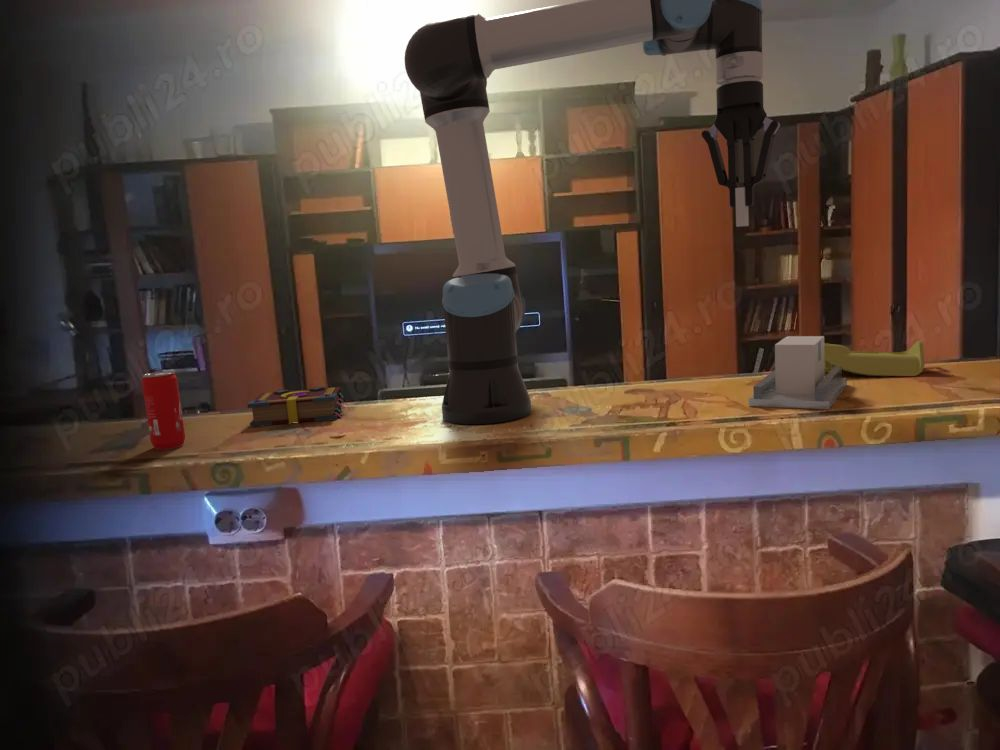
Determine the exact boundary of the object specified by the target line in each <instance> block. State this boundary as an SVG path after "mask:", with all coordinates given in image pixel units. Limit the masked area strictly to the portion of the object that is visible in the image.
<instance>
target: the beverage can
mask: <svg viewBox="0 0 1000 750" xmlns="http://www.w3.org/2000/svg"><path fill="white" fill-rule="evenodd" d="M141 386H142V391H143V398H144V405H145V412H146V418H147V425H148V426H147V427H148V431H149V437H150V444H152V447H154V450H155V451H167V450H173V449H178V448H181V447H183V446H184V445H185V443H184V442H185V440H186V433H185V432H186V430H185V425H184V418H183V411H182V404H181V397H180V389H179V383H178V377H177V375H176V374H175V371H173V370H165V371H156V372H150V373H144V374H143V375H142V380H141Z"/></svg>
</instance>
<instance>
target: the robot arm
mask: <svg viewBox="0 0 1000 750" xmlns="http://www.w3.org/2000/svg"><path fill="white" fill-rule="evenodd" d="M638 43H642V50H643V53H644V54H645V55H647V56H662V57H663V56H664V57H666V56H667V55H674V54H675V55H677V54H682V53H683V54H684V53H689V52H690V53H693V52H699V51H701V52H702V51H710V50H714V53H715V82H716V85H718V87H717V88H716V90H715V91H716V93H715V94H716V116H715V119H714V121H713V122H714V123H713V125H712V126H710V128H708V129H707V130H703V131H701V137H702V138H703V140H704V141H705V143H706V144H707V147H708V151H709V154H710V158H711V162H712V165H713V169H714V173H715V177H716V180H717V183H718V184H719V185H720V186H722V187H723V186H724V187H726V188H728V190H729V206H730V207H731V208H735V226H736V228H738V227H749V226H750V225H749V224H750V223H749V222H750V221H749V220H750V218H749V217H750V216H749V207H752V206H754V204H755V186H756V185H757V184H760V183H762V182H765V180H766V177H767V173H768V168H769V164H770V158H771V154H772V149H773V145H774V141H775V136H776V135H777V133H778V132H779V130H780V129H781V123H780V122H778V121H776V120H772V119H771V118H768V115H767V113H766V111H765V108H764V83H762V81H761V80H762V79H763V78H764V68H763V66H764V65H763V64H764V63H763V62H764V61H763V60H764V59H763V58H764V57H763V7H762V0H576V1H572V2H566V3H561V4H556V5H550V6H546V7H539V8H534V9H530V10H524V11H518V12H514V13H509V14H504V15H503V14H502V15H497V16H492V17H486V18H485V17H484V16H483V15H481V14H480V13H478V12H476V13H475V12H474V13H470V14H469V13H468V14H465V15H460V16H454V17H448V18H444V19H438V20H436V21H431V22H430V23H427V24H424V25H423V26H422V27H420V28H418V29H417V30H416V31H415V32H414V33H413V35H411V37H410V39H409V41H408V42H407V45H406V47H405V50H404V51H405V52H404V68H405V71H406V75H407V77H408V78H409V81H410V82H411V84H412V86H414V87H415V89H416V90H417V91H418V92H419V95H420V100H421V106H422V107H421V108H422V111H423V119H424V122H425V124H426V125H428V126H429V127H430V128H432V129H433V130H434V132H435V135H436V142H437V146H438V147H437V149H438V152H439V158H440V163H441V169H442V174H443V181H444V186H445V193H446V199H447V202H448V203H447V204H448V209H449V214H450V219H451V220H450V221H451V226H452V231H453V237H454V243H455V249H456V255H457V259H458V266H457V268H456V269H455V271H454V272H453V274H452V279H449V280H448V281H446V282H445V283H444V285H443V287H442V299H441V304H442V307H443V315H444V326H445V328H444V329H445V337H446V349H447V350H446V351H447V361H448V376H447V377H448V378H447V381H446V384H445V385H446V386H445V390H444V394H443V399H442V404H441V413H442V416H441V417H442V419H443V420H444V421H445V422H448V423H451V424H458V425H459V424H461V425H487V424H498V423H504V422H511V421H514V420H518V419H523V418H524V417H526V416H527V417H528V416H529V415H530V414H531V413H532V400H531V399H532V398H531V397H530V394H529V392H528V389H527V386H526V384H525V382H524V379H523V377H522V374H521V371H520V369H519V361H518V349H517V348H518V346H517V332H518V331H519V329H520V328H521V327H522V325H523V322H524V320H525V316H526V315H525V314H526V300H525V298H524V296H523V292H522V291H521V289H520V285H519V280H518V279H519V278H518V273H517V266H516V264H515V263H514V262H513V261H511V260H510V259H508V257H507V256H506V252H505V246H504V240H503V234H502V233H503V232H502V228H501V227H502V226H501V221H500V216H499V210H498V203H497V198H496V197H497V196H496V191H495V186H494V179H493V174H492V169H491V168H492V167H491V162H490V157H489V156H490V155H489V151H488V144H487V139H486V132H485V127H484V121H485V119H486V118H487V117H488V115H489V113H490V111H491V110H490V104H489V100H488V99H489V98H488V92H487V91H488V90H487V86H488V85H487V84H488V80H487V79H489V78H490V76H491V75H492V74H493V72H494V71H495V70H501V69H505V68H510V67H516V66H522V65H526V64H532V63H538V62H543V61H550V60H554V59H559V58H564V57H569V56H575V55H580V54H585V53H592V52H596V51H601V50H605V49H606V50H607V49H613V48H617V47H623V46H628V45H633V44H638ZM762 127H763V132H764V135H763V138H762V142H761V147H760V152H759V157H758V161H757V166H756V171H755V138H756V136H757V135H758V133H759V131H761V128H762ZM718 132H719V133H720V134H721V135H722V137H723V138H724V139H725V140H726V147H727V169H728V170H726V167H725V162H724V159H723V155H722V152H721V148H720V144H719V141H718V140H717V139H718V138H719V133H718ZM740 141H741V143H742V147H743V148H742V150H743V151H742V152H743V155H742V156H743V159H742V161H743V182H742V185H743V186H742V187H740V186H741V184H740V169H739V168H740V162H739V161H740V158H739V156H740V155H739V153H740V152H739V151H740V150H739V148H740ZM727 172H728V173H727Z"/></svg>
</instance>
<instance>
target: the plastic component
mask: <svg viewBox="0 0 1000 750" xmlns="http://www.w3.org/2000/svg"><path fill="white" fill-rule="evenodd" d="M924 355H925V353H924V343H923V340H917V341H916V342H914V344H913V345H912V346H911V347H910V348H909V349H907V350H904V351H899V352H897V351H871V350H867V351H866V350H851V349H850V348H848V347H847V346H845V345H842V344H833V343H832V344H831V343H828V342H824V373H825V374H827V373H826V372H830V371H831V370H832V368H833V367H834V366H842V371H846V372H848V373H852V374H855V375H861V376H868V377H889V376H913V377H916V376H918V375H920V374H921V373H922V372H923V370H924V369H925V366H926V365H925V356H924Z"/></svg>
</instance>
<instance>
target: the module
mask: <svg viewBox="0 0 1000 750" xmlns="http://www.w3.org/2000/svg"><path fill="white" fill-rule="evenodd" d="M824 343H825V336H824V335H819V336H818V335H815V336H814V335H808V336H807V335H804V336H803V335H800V336H799V335H794V336H793V335H789V336H788V335H787V336H786V337H784V338H782V339H781V340H779V341H778V342H777V343H775V344H774V367H775V368H774V370H775V386H776V393H780V394H812V395H815V388H816V387H817V386H818V384H819V383H820V382H821V381H822V380H823V379H824V378H825V376H826V375H825V374H826V373H824Z"/></svg>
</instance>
